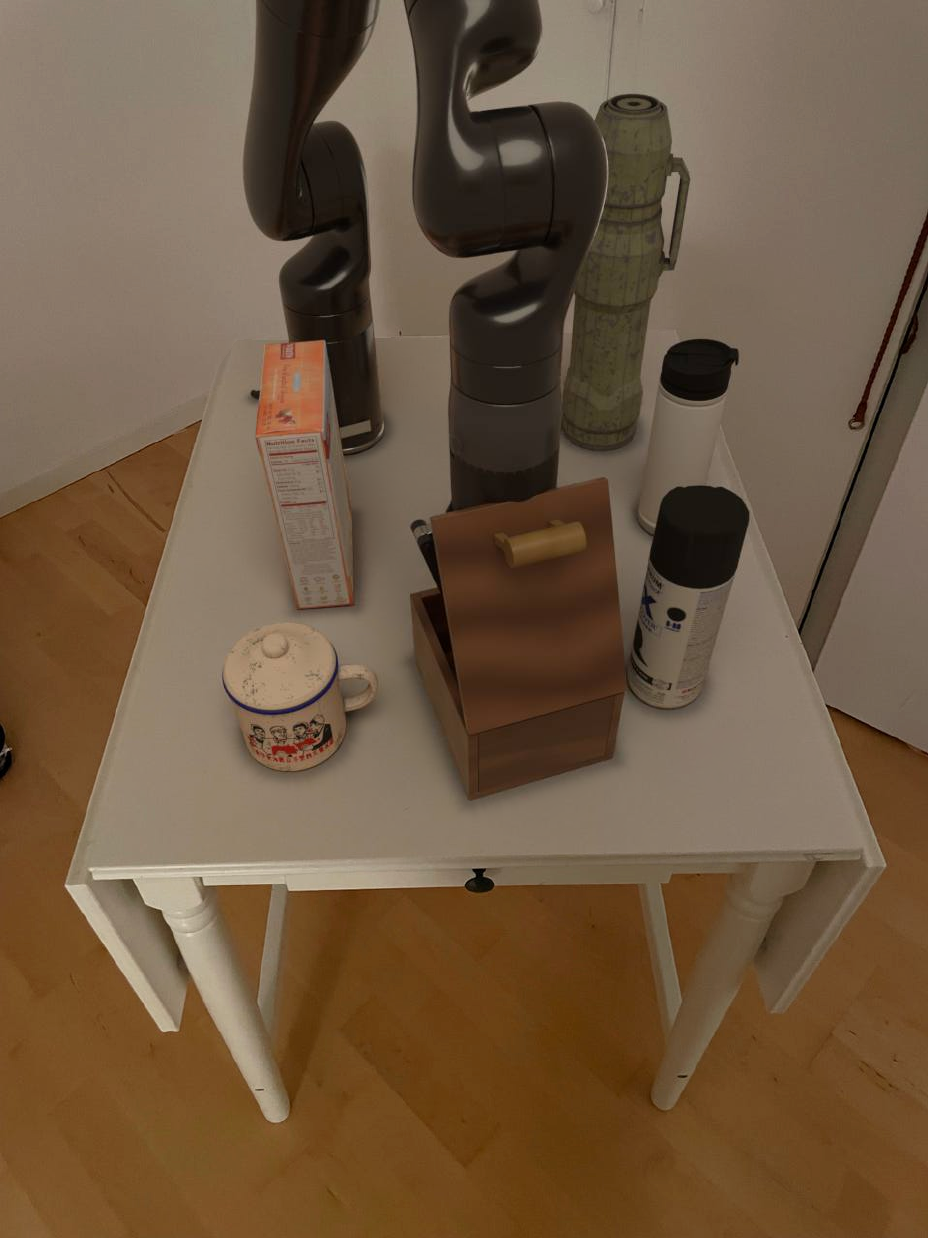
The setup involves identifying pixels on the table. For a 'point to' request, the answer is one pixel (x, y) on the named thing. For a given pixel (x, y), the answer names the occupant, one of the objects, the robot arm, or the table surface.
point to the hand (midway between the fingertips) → (501, 607)
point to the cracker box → (306, 472)
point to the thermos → (621, 274)
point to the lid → (532, 603)
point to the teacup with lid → (291, 694)
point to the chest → (516, 746)
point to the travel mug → (685, 421)
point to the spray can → (685, 592)
